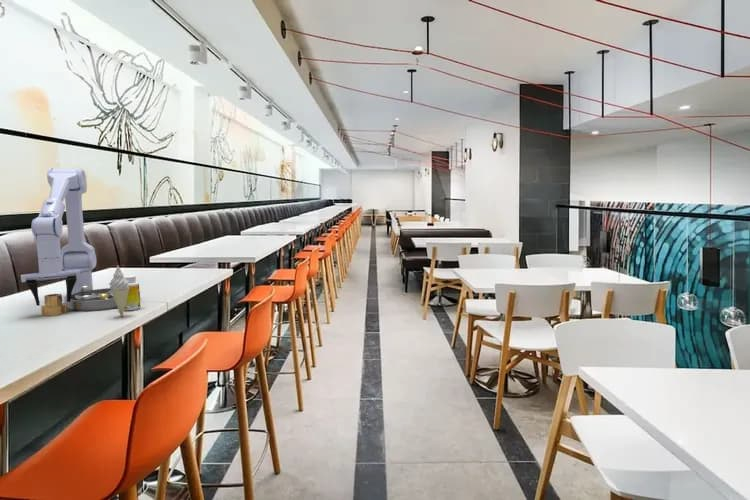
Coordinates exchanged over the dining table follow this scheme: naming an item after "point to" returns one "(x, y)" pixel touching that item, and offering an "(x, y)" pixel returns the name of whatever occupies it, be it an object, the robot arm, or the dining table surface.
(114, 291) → the ice cream cone
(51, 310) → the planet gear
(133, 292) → the beer glass
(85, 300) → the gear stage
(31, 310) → the dining table surface
